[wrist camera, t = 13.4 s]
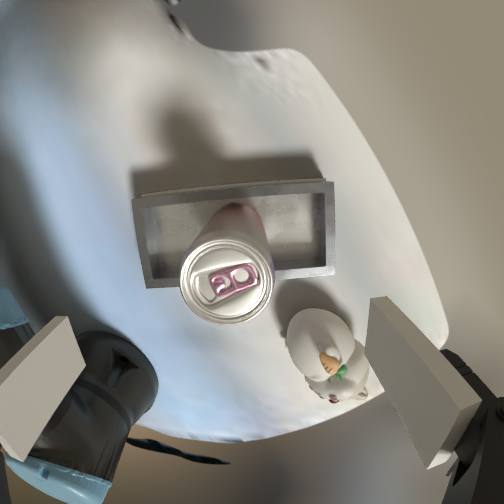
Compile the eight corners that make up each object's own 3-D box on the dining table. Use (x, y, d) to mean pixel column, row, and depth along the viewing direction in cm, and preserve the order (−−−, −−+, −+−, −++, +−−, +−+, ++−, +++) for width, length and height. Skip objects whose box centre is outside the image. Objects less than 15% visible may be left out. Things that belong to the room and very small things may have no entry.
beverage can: (272, 246, 32) (290, 309, 18) (221, 265, 33) (201, 339, 18) (252, 194, 31) (254, 218, 16) (199, 215, 31) (159, 256, 17)
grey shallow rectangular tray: (157, 277, 34) (146, 290, 30) (144, 193, 31) (131, 197, 27) (325, 264, 34) (335, 276, 30) (323, 178, 31) (333, 179, 27)
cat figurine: (295, 345, 26) (363, 428, 28) (347, 289, 29) (401, 378, 31) (256, 334, 35) (319, 407, 37) (300, 292, 38) (354, 367, 40)
